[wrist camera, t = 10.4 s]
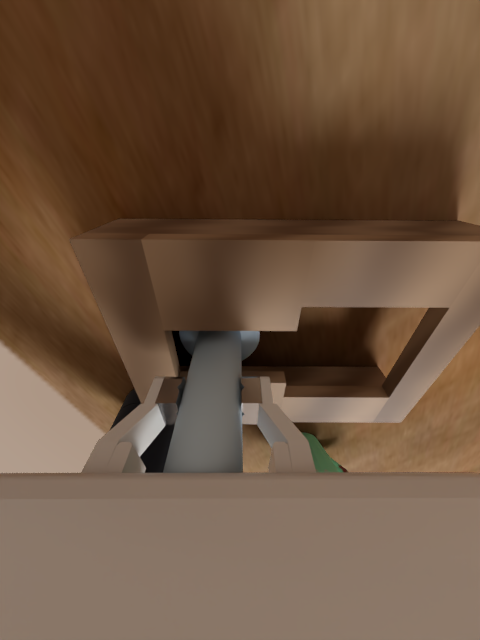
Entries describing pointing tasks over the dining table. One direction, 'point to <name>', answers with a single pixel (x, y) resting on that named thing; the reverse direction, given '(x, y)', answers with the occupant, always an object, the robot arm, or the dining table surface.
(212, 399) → the peg
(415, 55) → the dining table surface
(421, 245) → the keyhole board
